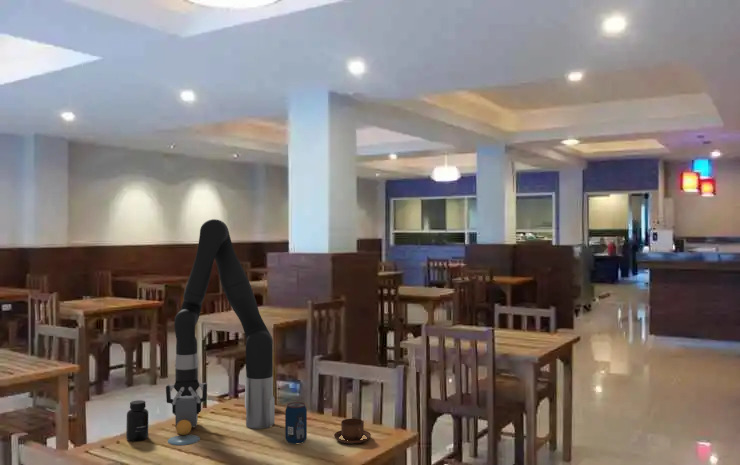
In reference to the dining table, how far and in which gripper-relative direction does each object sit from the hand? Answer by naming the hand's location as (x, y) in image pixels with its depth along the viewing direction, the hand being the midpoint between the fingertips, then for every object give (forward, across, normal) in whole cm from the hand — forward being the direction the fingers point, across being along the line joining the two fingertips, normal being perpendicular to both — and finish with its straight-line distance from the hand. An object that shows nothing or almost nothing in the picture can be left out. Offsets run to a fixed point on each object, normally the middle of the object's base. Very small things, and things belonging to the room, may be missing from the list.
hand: (186, 414), depth 225 cm
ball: (+2, 0, +8) cm, 8 cm away
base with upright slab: (+5, -25, -21) cm, 33 cm away
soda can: (+5, -36, +22) cm, 42 cm away
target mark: (+5, 0, +14) cm, 14 cm away
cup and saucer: (+5, -54, +24) cm, 59 cm away
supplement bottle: (+5, +15, +9) cm, 18 cm away
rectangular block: (+3, 0, 0) cm, 3 cm away
